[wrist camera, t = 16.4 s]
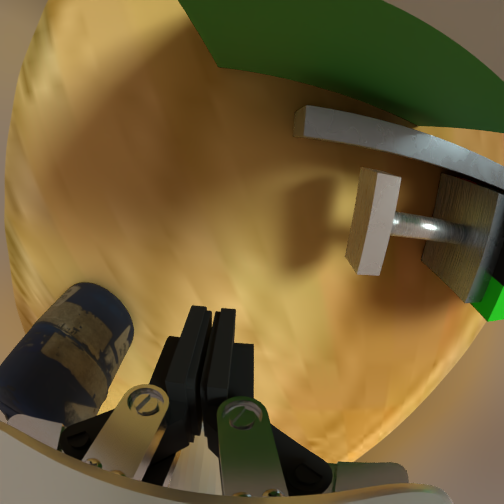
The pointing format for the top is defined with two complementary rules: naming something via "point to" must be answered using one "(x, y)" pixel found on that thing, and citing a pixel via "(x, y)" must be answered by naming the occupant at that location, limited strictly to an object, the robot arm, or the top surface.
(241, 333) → the top surface
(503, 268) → the puzzle toy
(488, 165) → the vise body
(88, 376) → the canister
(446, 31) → the hardback book
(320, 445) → the top surface
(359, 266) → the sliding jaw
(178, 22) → the top surface
